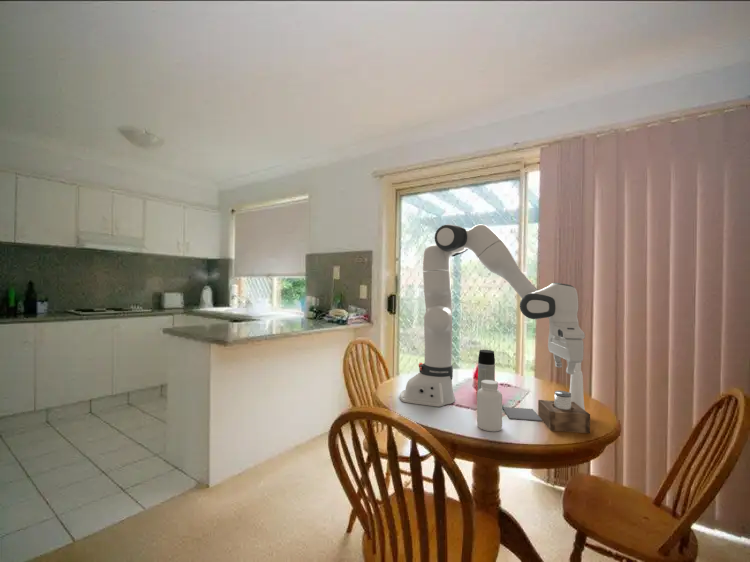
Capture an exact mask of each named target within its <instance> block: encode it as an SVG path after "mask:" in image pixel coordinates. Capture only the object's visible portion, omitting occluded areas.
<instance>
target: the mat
mask: <svg viewBox="0 0 750 562" xmlns="http://www.w3.org/2000/svg"><path fill="white" fill-rule="evenodd" d="M503 409H504V410H503ZM502 410H503V411H504V413H505V414H506V416H507V417H508V419H509V420H516V421H517V420H519V421H521V420H522V421H531V422H532V421H534V422H543V420H542V419H541V418H540V417H539V416H538V413H536V411H535V410H534V409H533V408H524V407H510V406H502Z"/></svg>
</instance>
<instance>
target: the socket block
mask: <svg viewBox="0 0 750 562" xmlns="http://www.w3.org/2000/svg"><path fill="white" fill-rule="evenodd" d="M537 403H538V406H537V407H538V411H537V412H538V413H537V415H538V416H539V417H540V418H541V419H542V420H543V421H542V423H543V424H544V425H545V426H546V427H547V428H548V429H549V430H550V431H553V432H554V431H555V432H556V431H557V432H568V433H581V434H591V414H590V413H589V412H588V411H587V410H586V409H585V410H584V409H582V408H581V407H580V406H578V405H577V404H576V403H575V402H571V410H561V409H558V408H554V407H555V400H548V399H538V402H537Z"/></svg>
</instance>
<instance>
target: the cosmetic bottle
mask: <svg viewBox="0 0 750 562" xmlns="http://www.w3.org/2000/svg"><path fill="white" fill-rule="evenodd" d="M569 393H571V402H575V403H576V404H577V405H578V406H580V407H581V408H582V409H584V410H585V411H586V409H585V398H584V377H583V371H582V362H581V363H576V365H575V368H574V374H573V375H571V374H570V381H569Z"/></svg>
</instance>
